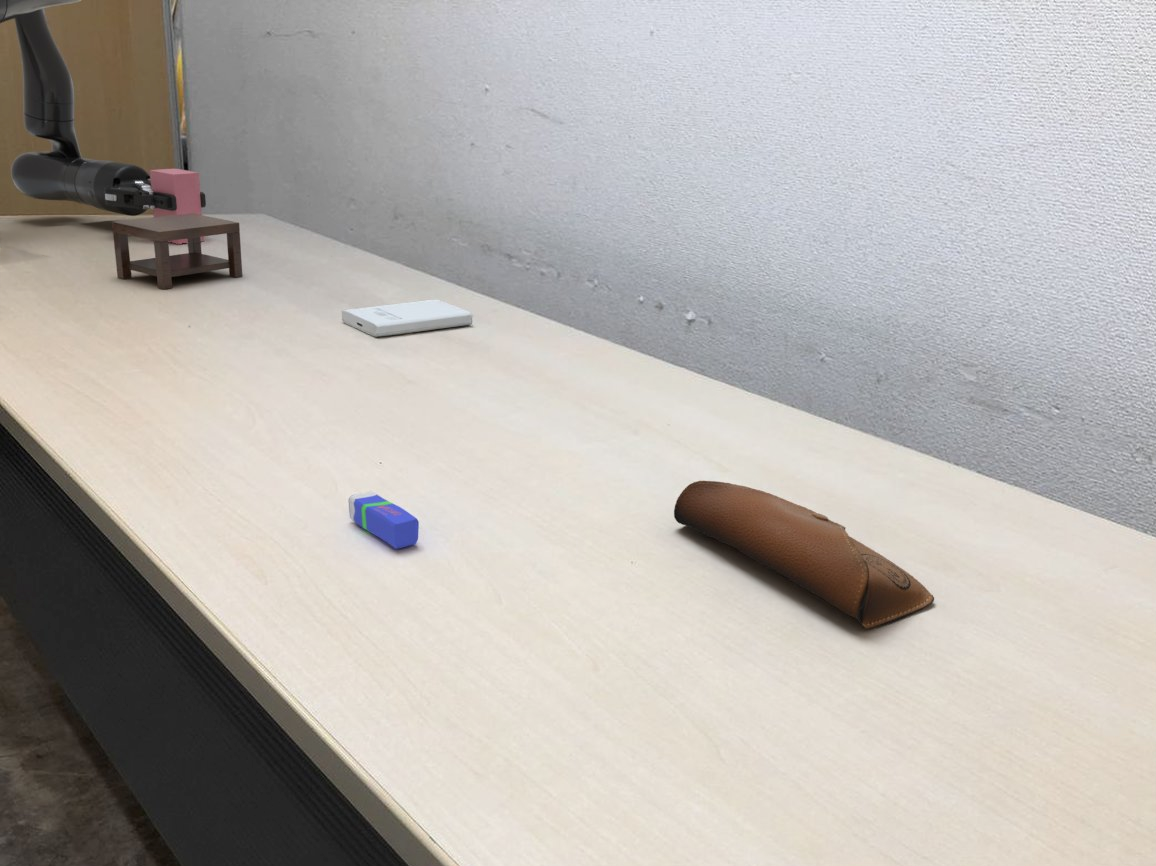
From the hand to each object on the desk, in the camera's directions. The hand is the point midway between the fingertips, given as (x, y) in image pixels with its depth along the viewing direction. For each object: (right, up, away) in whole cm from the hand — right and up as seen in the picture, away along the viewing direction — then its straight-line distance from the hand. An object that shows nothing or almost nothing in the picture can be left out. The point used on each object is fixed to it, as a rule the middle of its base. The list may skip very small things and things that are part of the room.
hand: (188, 201), depth 163 cm
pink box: (-3, -5, +3) cm, 7 cm away
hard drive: (+39, -23, -33) cm, 56 cm away
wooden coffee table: (+7, -14, -19) cm, 25 cm away
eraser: (+48, -44, -86) cm, 108 cm away
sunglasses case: (+77, -47, -87) cm, 125 cm away
